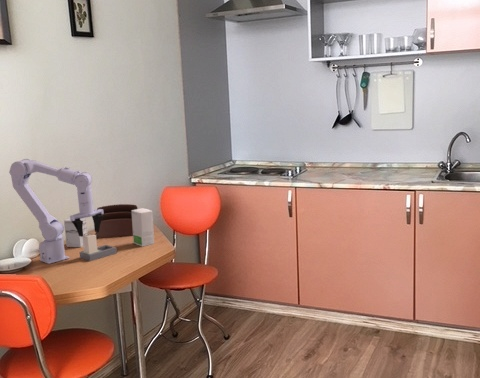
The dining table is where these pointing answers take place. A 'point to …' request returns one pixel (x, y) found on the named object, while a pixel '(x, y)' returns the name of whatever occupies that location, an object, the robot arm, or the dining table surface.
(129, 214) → the letter holder
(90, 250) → the plug
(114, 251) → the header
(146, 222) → the skincare box
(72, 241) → the supplement box
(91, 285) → the dining table surface
